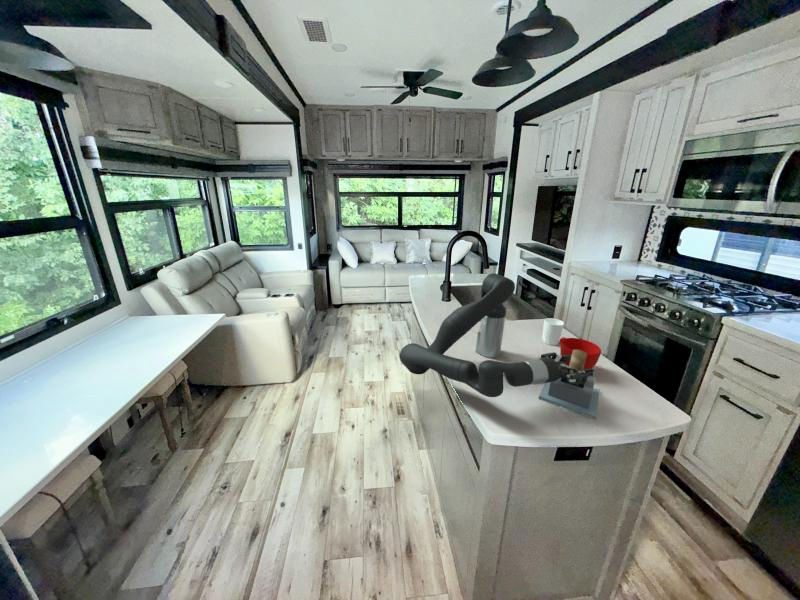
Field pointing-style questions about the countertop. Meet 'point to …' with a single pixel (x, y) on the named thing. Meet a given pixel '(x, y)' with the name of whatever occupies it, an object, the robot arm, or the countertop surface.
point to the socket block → (572, 396)
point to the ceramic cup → (580, 344)
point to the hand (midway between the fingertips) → (581, 364)
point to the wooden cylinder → (577, 362)
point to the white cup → (552, 331)
